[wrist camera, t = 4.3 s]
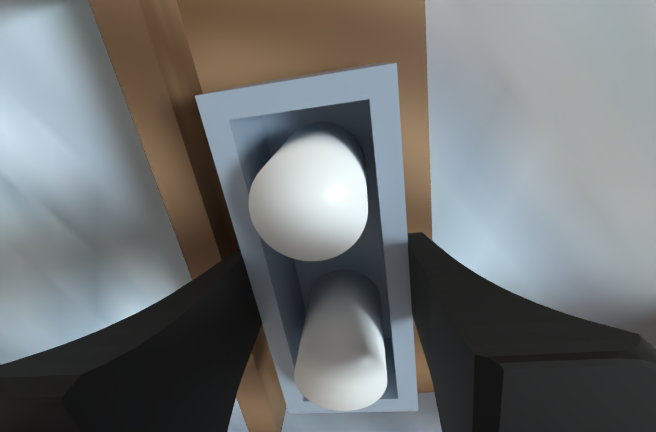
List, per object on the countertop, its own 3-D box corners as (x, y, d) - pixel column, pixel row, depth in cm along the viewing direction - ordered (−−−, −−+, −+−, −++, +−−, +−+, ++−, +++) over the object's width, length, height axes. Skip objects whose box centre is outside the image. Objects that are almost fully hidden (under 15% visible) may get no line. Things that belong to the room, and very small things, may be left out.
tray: (405, 332, 16) (423, 438, 12) (303, 338, 17) (283, 439, 12) (384, 61, 11) (401, 63, 7) (243, 84, 12) (175, 99, 8)
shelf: (431, 369, 20) (447, 437, 16) (270, 375, 21) (252, 439, 18) (413, -104, 11) (438, -182, 8) (143, -43, 13) (57, -84, 9)
